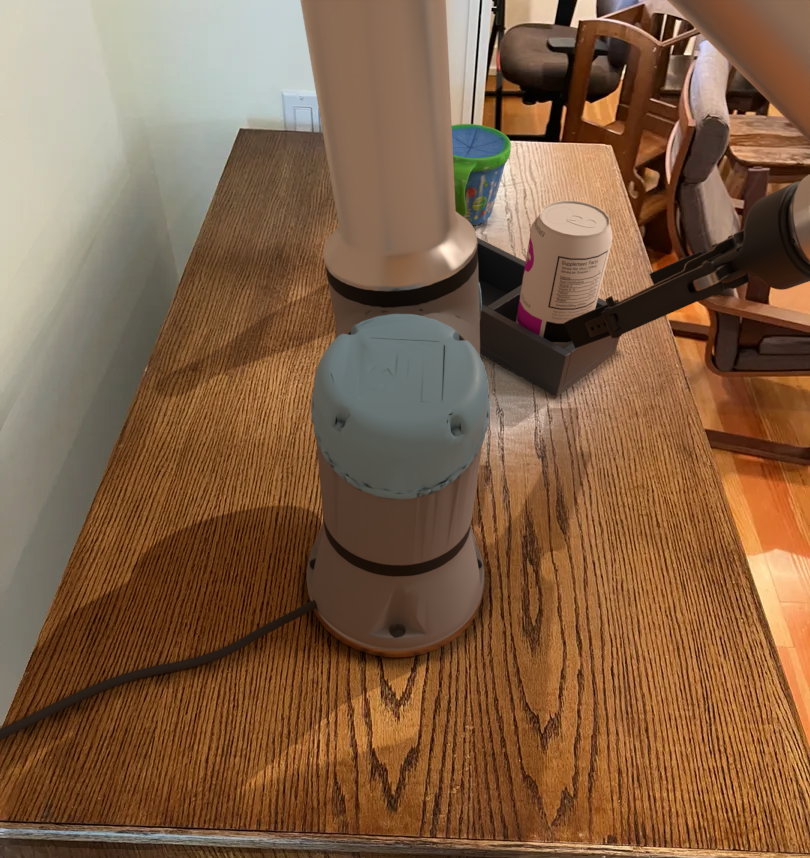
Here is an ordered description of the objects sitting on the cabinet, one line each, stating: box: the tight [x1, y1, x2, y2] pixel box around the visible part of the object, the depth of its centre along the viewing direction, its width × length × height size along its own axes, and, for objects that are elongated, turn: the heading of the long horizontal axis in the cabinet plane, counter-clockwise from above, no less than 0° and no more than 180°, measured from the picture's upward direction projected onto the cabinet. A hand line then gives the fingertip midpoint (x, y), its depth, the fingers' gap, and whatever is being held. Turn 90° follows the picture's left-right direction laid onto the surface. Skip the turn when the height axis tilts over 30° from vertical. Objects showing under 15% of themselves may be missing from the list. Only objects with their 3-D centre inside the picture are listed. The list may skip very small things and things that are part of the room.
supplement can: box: [516, 200, 614, 349], centre depth 82 cm, size 8×8×15 cm
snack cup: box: [452, 123, 512, 226], centre depth 104 cm, size 16×10×10 cm
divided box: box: [477, 237, 621, 398], centre depth 89 cm, size 12×22×6 cm, turn 46°
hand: (615, 308), depth 78 cm, fingers open, 13 cm apart
